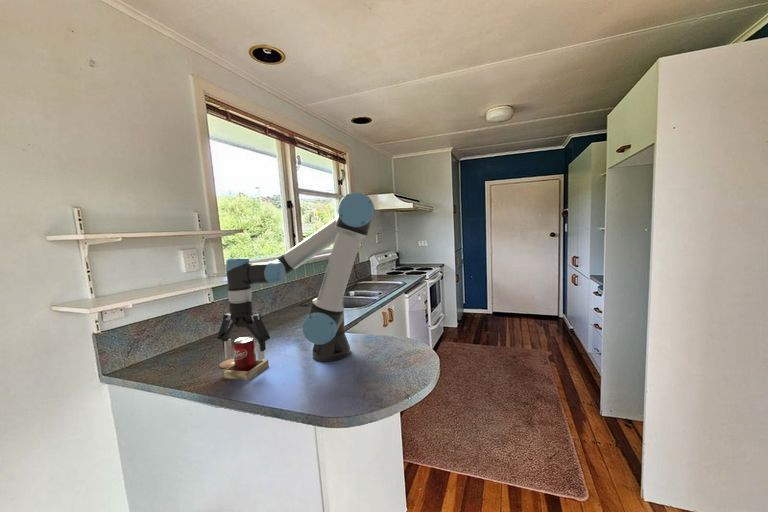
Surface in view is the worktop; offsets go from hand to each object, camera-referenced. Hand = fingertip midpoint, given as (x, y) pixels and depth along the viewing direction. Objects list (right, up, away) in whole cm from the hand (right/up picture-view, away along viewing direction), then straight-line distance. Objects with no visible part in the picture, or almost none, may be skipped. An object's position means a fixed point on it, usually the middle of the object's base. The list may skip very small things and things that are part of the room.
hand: (245, 358), depth 110 cm
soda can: (0, -5, 0) cm, 5 cm away
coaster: (-9, -5, +8) cm, 13 cm away
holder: (0, -5, 0) cm, 5 cm away
